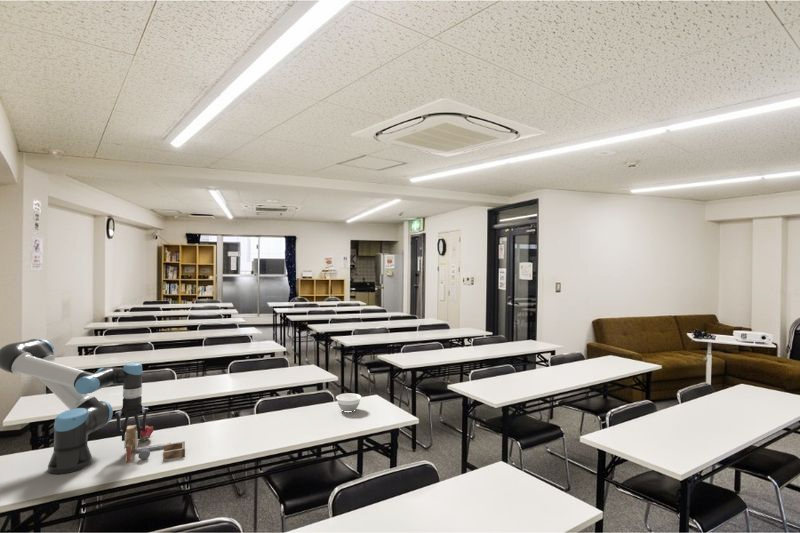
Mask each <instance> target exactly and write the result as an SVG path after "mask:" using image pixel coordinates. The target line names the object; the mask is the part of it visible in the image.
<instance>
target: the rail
mask: <svg viewBox="0 0 800 533" xmlns="http://www.w3.org/2000/svg"><path fill="white" fill-rule="evenodd" d="M171 443H172V442H165V443H159V444H153V445H152V444H151V445H147V446H141V447H136V449H135V450H133V451H131V455H133V454H139V453H140V451H141V450H143V449H148V450H149V451H150V452H151V451H157V450H164V445H165V444H171Z"/></svg>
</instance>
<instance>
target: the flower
mask: <svg viewBox="0 0 800 533" xmlns="http://www.w3.org/2000/svg"><path fill="white" fill-rule="evenodd" d="M136 431H137V428H136ZM153 432H154V426H153V425H152V426H149V425H147V424H146V425H145V430H142V431H141V437H140V439H139V441H142V443H144V444H145V441H147V440H149V439H150V438H152V437H153V435H152V433H153Z"/></svg>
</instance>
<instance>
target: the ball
mask: <svg viewBox="0 0 800 533" xmlns="http://www.w3.org/2000/svg"><path fill="white" fill-rule="evenodd" d="M150 455H151V451H149V450H148V449H143V450H141V451H140V452H139V453H138V458H139V460H142V461H145V460H148V458H149V457H150Z"/></svg>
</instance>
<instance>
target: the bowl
mask: <svg viewBox="0 0 800 533" xmlns="http://www.w3.org/2000/svg"><path fill="white" fill-rule="evenodd" d="M335 399H336V400H337V405H338V406H339V409H340V410H341V411H342V410H343V411H354V410H355V411H356V410H357V408H358V407H359V405H360V401H361V399H362V396H361V395H360V394H359V393H354V392H353V393H351V392H349V393H348V392H347V393H340V394H338V395H336V397H335Z"/></svg>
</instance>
